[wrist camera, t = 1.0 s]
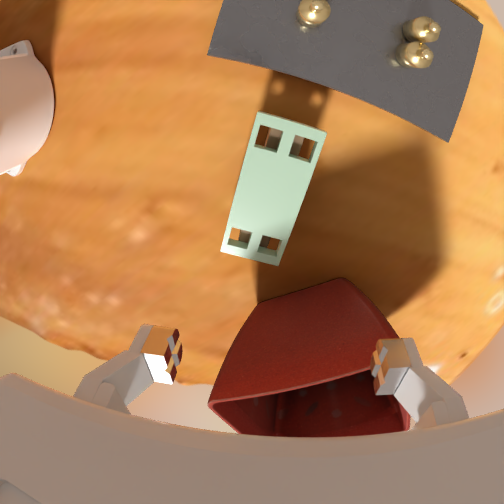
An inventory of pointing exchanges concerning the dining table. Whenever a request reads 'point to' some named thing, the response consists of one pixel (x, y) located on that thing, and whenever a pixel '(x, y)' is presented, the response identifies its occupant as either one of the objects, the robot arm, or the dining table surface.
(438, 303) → the dining table surface
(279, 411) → the plant pot
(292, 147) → the stand
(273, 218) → the board
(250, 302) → the dining table surface
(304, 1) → the peg assembly base
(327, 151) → the dining table surface
